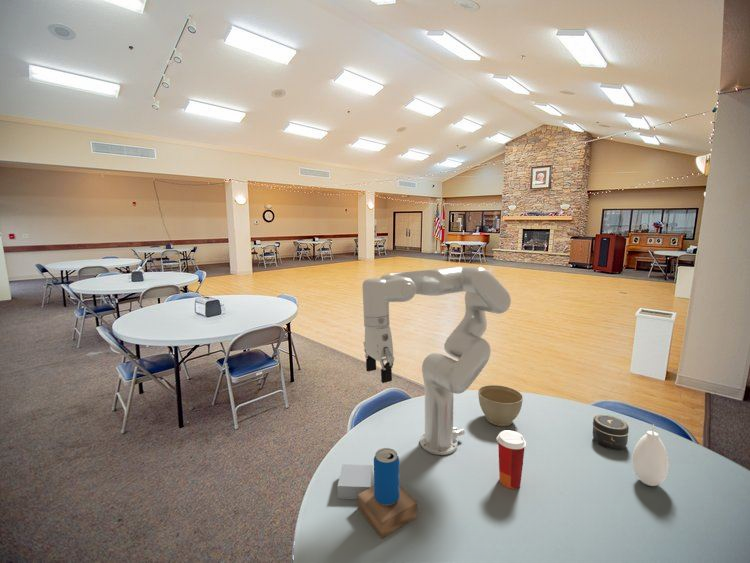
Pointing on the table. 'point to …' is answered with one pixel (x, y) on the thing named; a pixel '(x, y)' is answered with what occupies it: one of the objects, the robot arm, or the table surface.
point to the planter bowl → (500, 404)
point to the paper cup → (510, 458)
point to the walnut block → (387, 511)
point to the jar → (610, 432)
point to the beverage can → (386, 476)
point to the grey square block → (354, 480)
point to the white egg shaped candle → (650, 459)
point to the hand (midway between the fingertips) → (378, 375)
